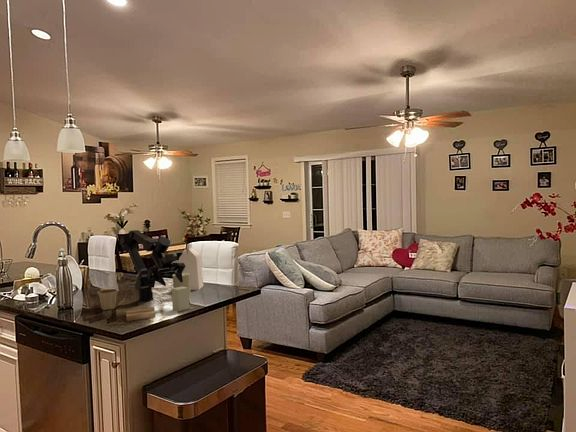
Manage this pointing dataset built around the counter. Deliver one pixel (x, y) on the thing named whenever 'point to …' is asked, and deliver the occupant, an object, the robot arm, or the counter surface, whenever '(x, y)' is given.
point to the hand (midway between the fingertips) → (173, 283)
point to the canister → (180, 298)
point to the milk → (192, 267)
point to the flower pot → (108, 298)
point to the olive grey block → (184, 284)
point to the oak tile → (140, 314)
